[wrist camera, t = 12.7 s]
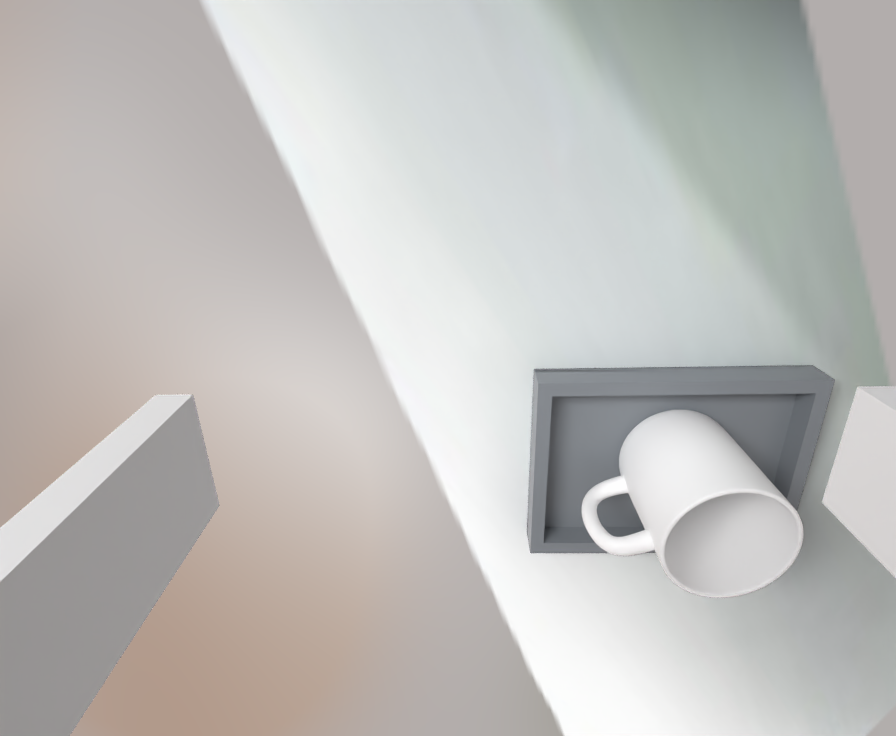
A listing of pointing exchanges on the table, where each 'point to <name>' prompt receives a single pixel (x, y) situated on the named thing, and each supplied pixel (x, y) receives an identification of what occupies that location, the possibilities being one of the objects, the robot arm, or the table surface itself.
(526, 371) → the table surface
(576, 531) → the grey tray
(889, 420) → the robot arm
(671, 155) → the table surface
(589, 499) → the cup
